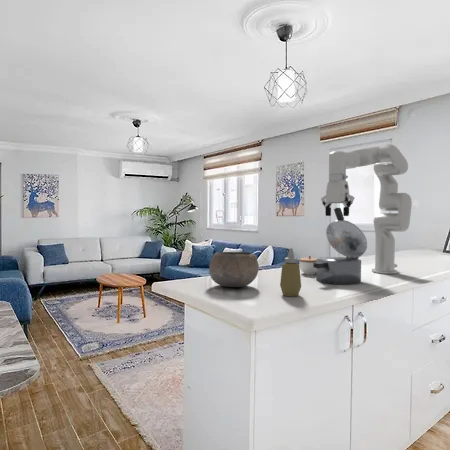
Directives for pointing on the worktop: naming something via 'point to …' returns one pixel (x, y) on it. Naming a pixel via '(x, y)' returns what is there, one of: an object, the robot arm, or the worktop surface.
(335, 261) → the cooker pot
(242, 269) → the clay pot
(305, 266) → the lidded jar
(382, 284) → the worktop surface
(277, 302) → the worktop surface
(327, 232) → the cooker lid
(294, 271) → the squeeze bottle
